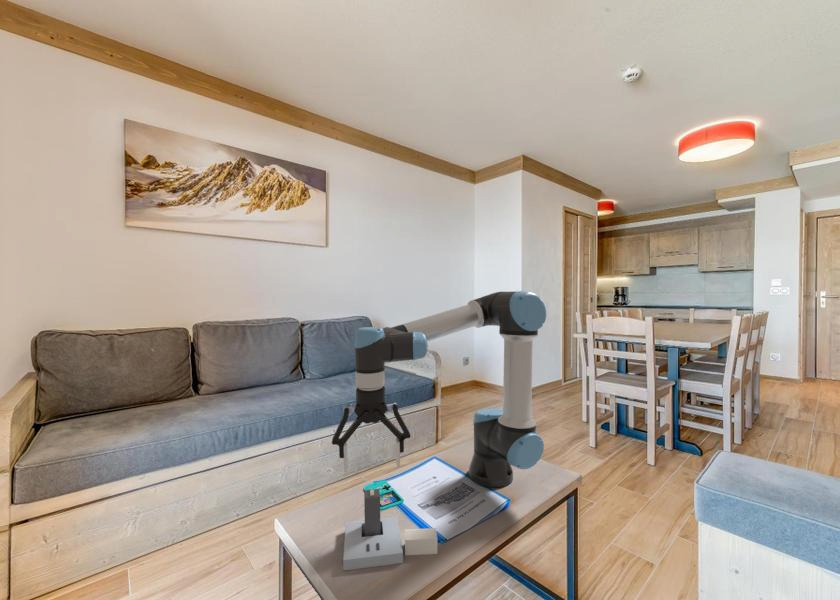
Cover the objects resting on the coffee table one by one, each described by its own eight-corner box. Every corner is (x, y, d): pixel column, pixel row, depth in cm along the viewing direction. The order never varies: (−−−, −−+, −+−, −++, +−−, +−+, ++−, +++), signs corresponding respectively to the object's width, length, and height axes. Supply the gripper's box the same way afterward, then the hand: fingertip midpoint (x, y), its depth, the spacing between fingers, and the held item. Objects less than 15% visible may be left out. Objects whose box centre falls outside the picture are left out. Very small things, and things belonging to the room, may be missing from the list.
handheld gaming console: (384, 478, 124) (405, 500, 111) (384, 481, 124) (405, 503, 111) (361, 485, 120) (380, 509, 107) (361, 488, 120) (380, 512, 107)
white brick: (435, 543, 93) (435, 528, 93) (437, 554, 89) (437, 538, 89) (404, 544, 93) (404, 529, 93) (405, 556, 89) (405, 540, 89)
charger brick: (379, 532, 97) (379, 487, 97) (380, 542, 93) (380, 495, 93) (364, 534, 97) (364, 488, 96) (364, 544, 93) (364, 497, 93)
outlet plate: (397, 525, 100) (397, 516, 100) (403, 562, 86) (402, 551, 86) (345, 531, 98) (345, 521, 98) (343, 570, 84) (343, 559, 84)
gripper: (415, 380, 100) (417, 455, 100) (322, 385, 96) (325, 464, 96) (419, 387, 92) (421, 469, 93) (319, 393, 88) (322, 479, 89)
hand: (372, 467), depth 95 cm, fingers open, 13 cm apart
